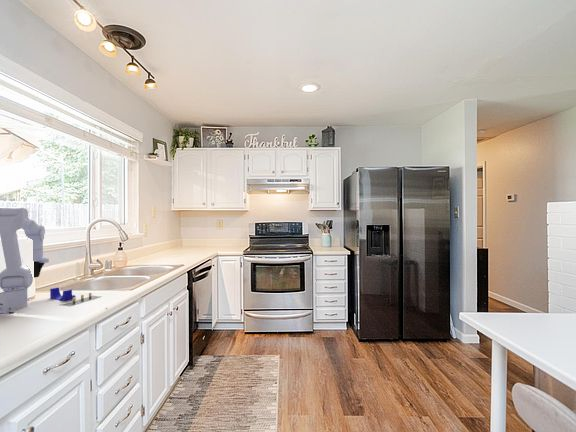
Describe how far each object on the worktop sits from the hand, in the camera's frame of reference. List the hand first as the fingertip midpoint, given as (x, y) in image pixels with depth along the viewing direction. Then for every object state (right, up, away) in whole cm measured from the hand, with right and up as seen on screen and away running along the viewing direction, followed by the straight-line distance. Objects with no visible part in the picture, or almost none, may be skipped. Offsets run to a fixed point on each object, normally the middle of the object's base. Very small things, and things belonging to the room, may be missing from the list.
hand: (35, 277), depth 149 cm
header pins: (+29, -9, -9) cm, 32 cm away
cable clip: (+17, -11, -5) cm, 21 cm away
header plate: (+29, -10, -9) cm, 32 cm away
